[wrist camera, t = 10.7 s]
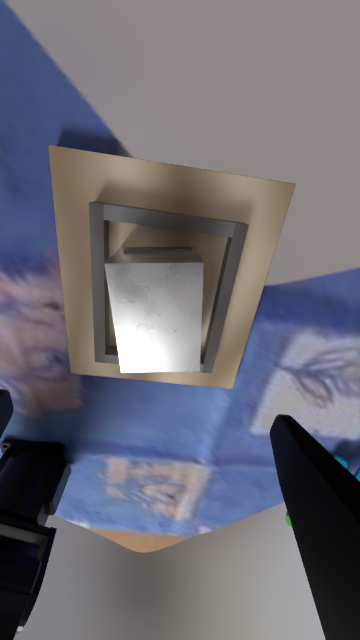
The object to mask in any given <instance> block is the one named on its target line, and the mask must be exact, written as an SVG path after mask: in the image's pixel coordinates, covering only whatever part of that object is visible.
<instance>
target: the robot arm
mask: <svg viewBox="0 0 360 640" xmlns="http://www.w3.org/2000/svg"><path fill="white" fill-rule="evenodd" d="M12 414H13V404H12V400H11V396H10V393H9V391H8V390H3V389H0V438H1V436H2V434H3V432H4V430H5V428H6V426H7V424H8V422H9V420H10V418H11V416H12ZM270 439H271V444H272V449H273V454H274V460H275V465H276V470H277V475H278V479H279V484H280V487H281V491H282V494H283V498H284V501H285V504H286V508H287V511H288V515H289V518H290V521H291V525H292V528H293V531H294V535H295V538H296V541H297V545H298V548H299V551H300V555H301V558H302V562H303V565H304V568H305V572H306V575H307V578H308V582H309V585H310V588H311V592H312V595H313V598H314V601H315V605H316V609H317V612H318V615H319V618H320V622H321V625H322V629H323V632H324V635H325V639H326V640H360V481H359V480H358V479H357V478H356V477H355V476H353V475H352V474H351V473H350V472H349V471H348V470H347V469H346V468H345V467H344V466H343V465H342V464H341V463H340V462H339V461H338V460H337V459H336V458H335V457H333V456H332V455H331V454H330V453H329V452H328V451H327V450H326V449H325V448H324V447H323V446H322V445H321V444H320V443H319V442H318V441H317V440H316V439H315V438H313V437H312V436H311V435H310V434H309V433H308V432H307V431H306V430H305V429H304V428H303V427H302V426H301V425H300V424H299V423H298V422H297V421H296V420H295V419H293V418H292V417H291V416H289V415H281V414H279V415H277V416H276V418H275V420H274V423H273V425H272V427H271V429H270ZM0 448H1V451H2V454H3V455H2V457H1V458H0V640H13V639H14V637H15V634H19V633H20V632H21V630H22V628H23V627H24V625H25V624H26V622H27V620H28V618H29V616H30V614H31V611H32V609H33V607H34V605H35V602H36V599H37V597H38V594H39V591H40V588H41V585H42V582H43V578H44V574H45V571H46V567H47V563H48V560H49V556H50V552H51V548H52V544H53V541H54V537H55V533H56V530H57V529H56V528H53V527H51V528H48V527H45V523H46V521H47V518H48V516H49V515H53V514H55V512H56V510H57V507H58V504H59V502H60V499H61V496H62V494H63V491H64V489H65V486H66V483H67V481H68V478H69V475H70V471H69V464H68V461H67V460H66V452H65V447H64V445H62V444H55V443H42V442H28V441H15V440H3V441H2V443H1V444H0Z"/></svg>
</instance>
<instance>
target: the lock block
mask: <svg viewBox="0 0 360 640" xmlns="http://www.w3.org/2000/svg"><path fill="white" fill-rule="evenodd" d="M104 265H105V272H106V278H107V284H108V291H109V297H110V303H111V310H112V316H113V323H114V329H115V335H116V342H117V348H118V355H119V361H120V367H121V372H197V371H200V350H201V323H202V295H203V268H204V262H203V259H202V256H201V254H200V251H199V248H198V246H180V247H120V248H119V249H118V250H117V251H116V252H115V253H114V254H113V255H112V256H111V257H110V258H109V259H108V260H107V261H106V262H105V263H104Z"/></svg>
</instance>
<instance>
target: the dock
mask: <svg viewBox="0 0 360 640" xmlns="http://www.w3.org/2000/svg"><path fill="white" fill-rule="evenodd" d="M48 150H49V160H50V170H51V181H52V191H53V201H54V211H55V221H56V231H57V241H58V252H59V262H60V272H61V282H62V292H63V302H64V312H65V323H66V333H67V343H68V353H69V363H70V373H72V374H83V375H93V376H104V377H114V378H125V379H135V380H146V381H156V382H167V383H177V384H188V385H198V386H209V387H219V388H230V389H232V387H233V384H234V381H235V378H236V374H237V371H238V368H239V365H240V361H241V358H242V355H243V352H244V349H245V345H246V342H247V339H248V336H249V332H250V329H251V326H252V323H253V320H254V316H255V313H256V310H257V307H258V304H259V300H260V297H261V294H262V291H263V287H264V284H265V281H266V278H267V274H268V271H269V268H270V265H271V262H272V258H273V255H274V252H275V248H276V246H277V242H278V239H279V236H280V233H281V229H282V226H283V223H284V220H285V217H286V213H287V210H288V207H289V204H290V200H291V197H292V194H293V191H294V187H295V184H293V183H287V182H280V181H274V180H268V179H261V178H255V177H249V176H242V175H236V174H229V173H223V172H217V171H211V170H205V169H198V168H192V167H185V166H179V165H173V164H166V163H160V162H153V161H147V160H141V159H135V158H129V157H122V156H116V155H110V154H103V153H97V152H91V151H84V150H78V149H72V148H65V147H59V146H53V145H48ZM180 246H198V248H199V251H200V254H201V256H202V259H203V262H204V268H203V295H202V323H201V350H200V371H197V372H121V367H120V361H119V355H118V348H117V342H116V335H115V329H114V323H113V316H112V310H111V303H110V297H109V291H108V284H107V278H106V272H105V265H104V263H105V262H106V261H107V260H108V259H109V258H110V257H111V256H112V255H113V254H114V253H115V252H116V251H117V250H118V249H119V248H120V247H180Z"/></svg>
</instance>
